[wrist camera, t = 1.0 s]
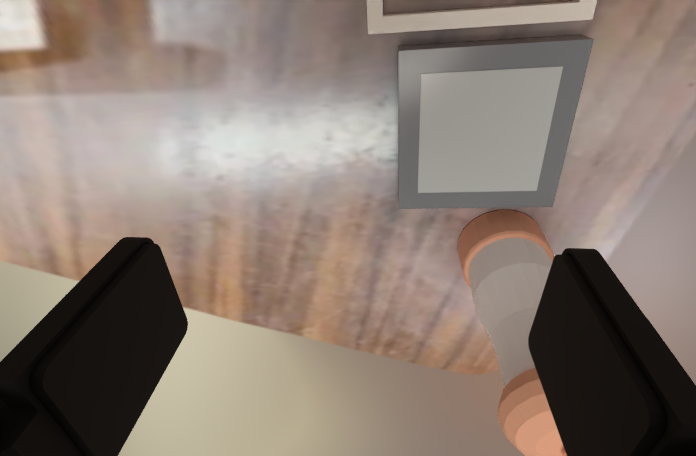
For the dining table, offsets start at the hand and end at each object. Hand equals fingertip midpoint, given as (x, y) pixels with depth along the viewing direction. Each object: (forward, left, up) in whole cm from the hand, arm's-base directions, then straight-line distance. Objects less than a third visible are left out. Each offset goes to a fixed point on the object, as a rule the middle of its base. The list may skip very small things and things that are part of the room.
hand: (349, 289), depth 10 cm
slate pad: (+4, +7, -23) cm, 24 cm away
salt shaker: (+15, +10, -23) cm, 29 cm away
